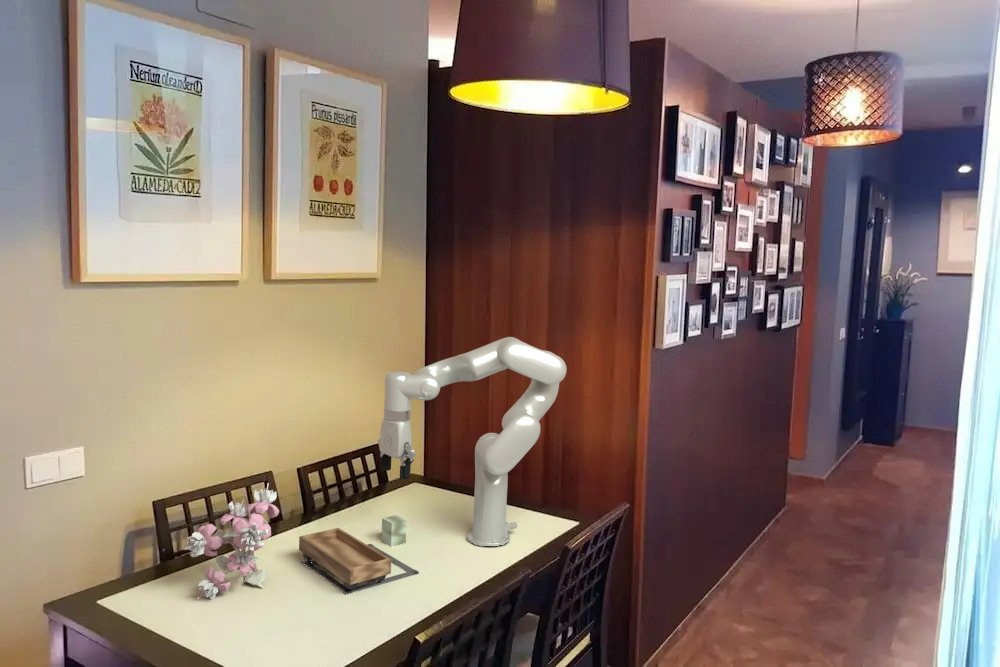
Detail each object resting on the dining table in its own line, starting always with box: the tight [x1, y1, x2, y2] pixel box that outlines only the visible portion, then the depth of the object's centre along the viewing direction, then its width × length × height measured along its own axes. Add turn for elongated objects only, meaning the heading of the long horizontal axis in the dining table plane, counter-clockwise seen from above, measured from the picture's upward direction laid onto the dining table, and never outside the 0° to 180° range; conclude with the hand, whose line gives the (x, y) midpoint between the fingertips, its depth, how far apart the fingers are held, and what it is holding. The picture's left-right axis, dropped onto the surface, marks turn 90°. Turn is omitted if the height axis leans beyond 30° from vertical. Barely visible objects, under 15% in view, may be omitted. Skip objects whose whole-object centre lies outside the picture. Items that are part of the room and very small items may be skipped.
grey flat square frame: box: [300, 543, 420, 595], centre depth 203 cm, size 22×24×1 cm
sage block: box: [380, 514, 407, 548], centre depth 222 cm, size 5×5×7 cm
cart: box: [298, 527, 392, 590], centre depth 200 cm, size 12×27×6 cm, turn 41°
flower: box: [183, 482, 280, 600], centre depth 188 cm, size 20×22×25 cm
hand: (395, 474), depth 220 cm, fingers open, 9 cm apart
